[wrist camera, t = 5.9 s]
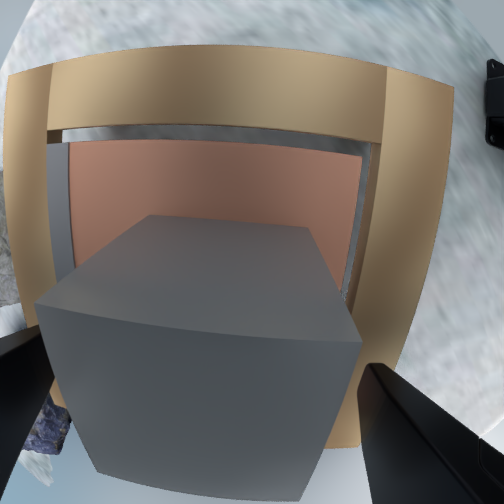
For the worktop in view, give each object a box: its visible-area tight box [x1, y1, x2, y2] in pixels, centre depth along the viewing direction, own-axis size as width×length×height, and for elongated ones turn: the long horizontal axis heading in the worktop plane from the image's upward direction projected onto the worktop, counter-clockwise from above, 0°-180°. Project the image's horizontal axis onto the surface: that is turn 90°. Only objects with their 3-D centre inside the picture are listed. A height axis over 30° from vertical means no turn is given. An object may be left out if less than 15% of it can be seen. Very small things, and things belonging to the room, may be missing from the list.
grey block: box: [34, 215, 363, 501], centre depth 8 cm, size 5×5×6 cm
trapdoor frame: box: [3, 45, 454, 449], centre depth 15 cm, size 16×16×9 cm
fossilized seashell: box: [0, 171, 21, 307], centre depth 19 cm, size 10×9×10 cm
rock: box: [22, 392, 72, 455], centre depth 19 cm, size 11×10×10 cm
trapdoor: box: [46, 139, 362, 293], centre depth 11 cm, size 10×10×1 cm
